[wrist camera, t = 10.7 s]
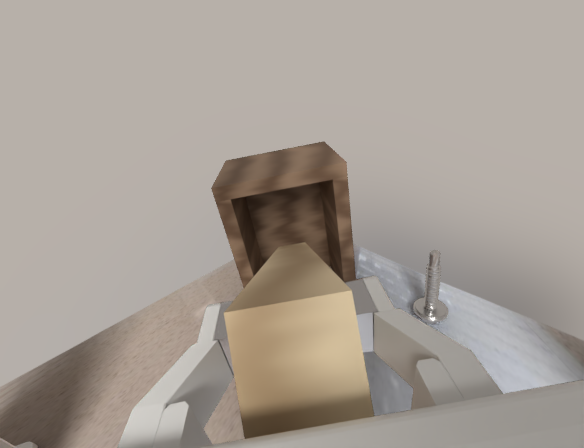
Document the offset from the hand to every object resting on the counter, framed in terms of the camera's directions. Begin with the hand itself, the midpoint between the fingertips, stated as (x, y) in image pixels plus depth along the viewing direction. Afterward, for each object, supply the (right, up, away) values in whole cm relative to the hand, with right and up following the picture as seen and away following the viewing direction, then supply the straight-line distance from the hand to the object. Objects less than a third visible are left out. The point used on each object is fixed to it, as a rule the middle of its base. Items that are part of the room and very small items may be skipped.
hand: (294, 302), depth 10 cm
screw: (+22, -12, +33) cm, 42 cm away
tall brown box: (+2, -10, +44) cm, 45 cm away
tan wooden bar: (0, -2, +8) cm, 9 cm away
